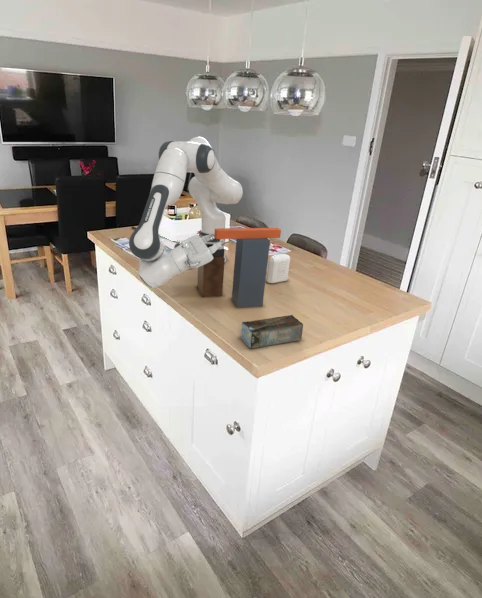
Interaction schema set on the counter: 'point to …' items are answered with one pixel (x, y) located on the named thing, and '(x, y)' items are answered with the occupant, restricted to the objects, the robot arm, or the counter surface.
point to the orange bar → (246, 233)
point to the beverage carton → (271, 331)
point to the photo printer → (278, 268)
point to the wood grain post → (212, 274)
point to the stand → (250, 272)
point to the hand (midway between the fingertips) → (217, 239)
